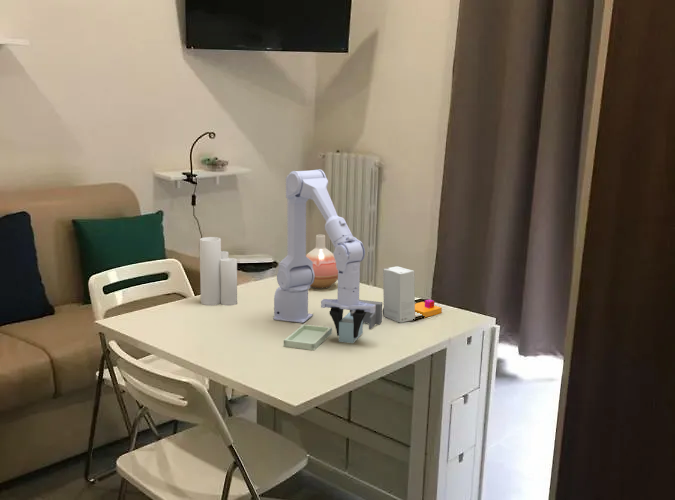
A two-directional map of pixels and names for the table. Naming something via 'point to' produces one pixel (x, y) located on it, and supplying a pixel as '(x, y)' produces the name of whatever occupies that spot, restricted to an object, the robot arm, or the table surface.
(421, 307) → the orange flat block
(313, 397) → the table surface
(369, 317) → the bay
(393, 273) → the skincare box
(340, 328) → the tall blue-grey prism
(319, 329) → the tray
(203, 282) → the vase
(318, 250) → the vase
